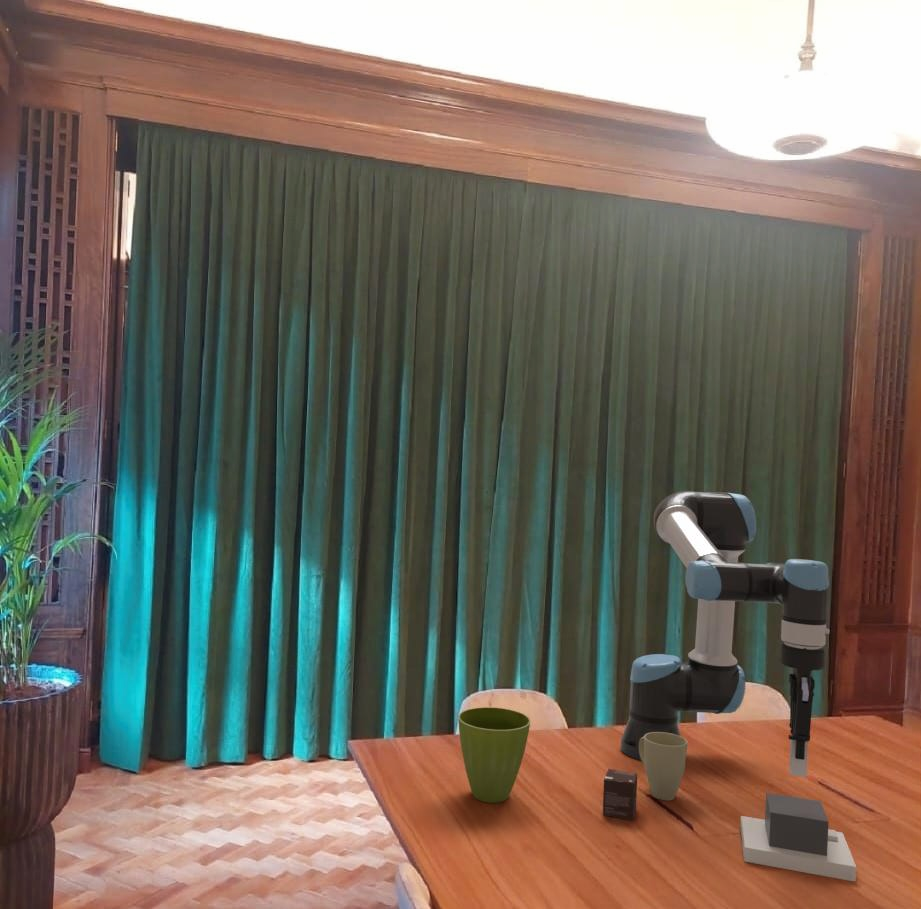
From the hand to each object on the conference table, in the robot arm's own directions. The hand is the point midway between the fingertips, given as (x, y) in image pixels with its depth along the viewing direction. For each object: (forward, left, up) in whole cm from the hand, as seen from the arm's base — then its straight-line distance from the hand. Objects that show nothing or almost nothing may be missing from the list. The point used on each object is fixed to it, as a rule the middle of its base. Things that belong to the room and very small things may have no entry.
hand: (797, 773), depth 145 cm
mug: (-25, +18, -15) cm, 34 cm away
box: (-32, +5, -15) cm, 36 cm away
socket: (0, 0, -14) cm, 14 cm away
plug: (0, 0, -14) cm, 14 cm away
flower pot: (-58, +2, -15) cm, 60 cm away
